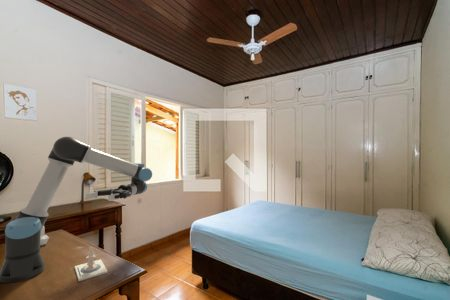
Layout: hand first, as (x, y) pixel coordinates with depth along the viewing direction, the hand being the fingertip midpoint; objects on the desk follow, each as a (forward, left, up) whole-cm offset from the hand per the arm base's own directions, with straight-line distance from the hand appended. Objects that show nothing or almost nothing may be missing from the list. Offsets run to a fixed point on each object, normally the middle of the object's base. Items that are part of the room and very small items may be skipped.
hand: (97, 197), depth 111 cm
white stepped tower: (+7, -3, -31) cm, 32 cm away
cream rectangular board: (+7, -3, -32) cm, 33 cm away
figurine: (-43, -21, -32) cm, 58 cm away
